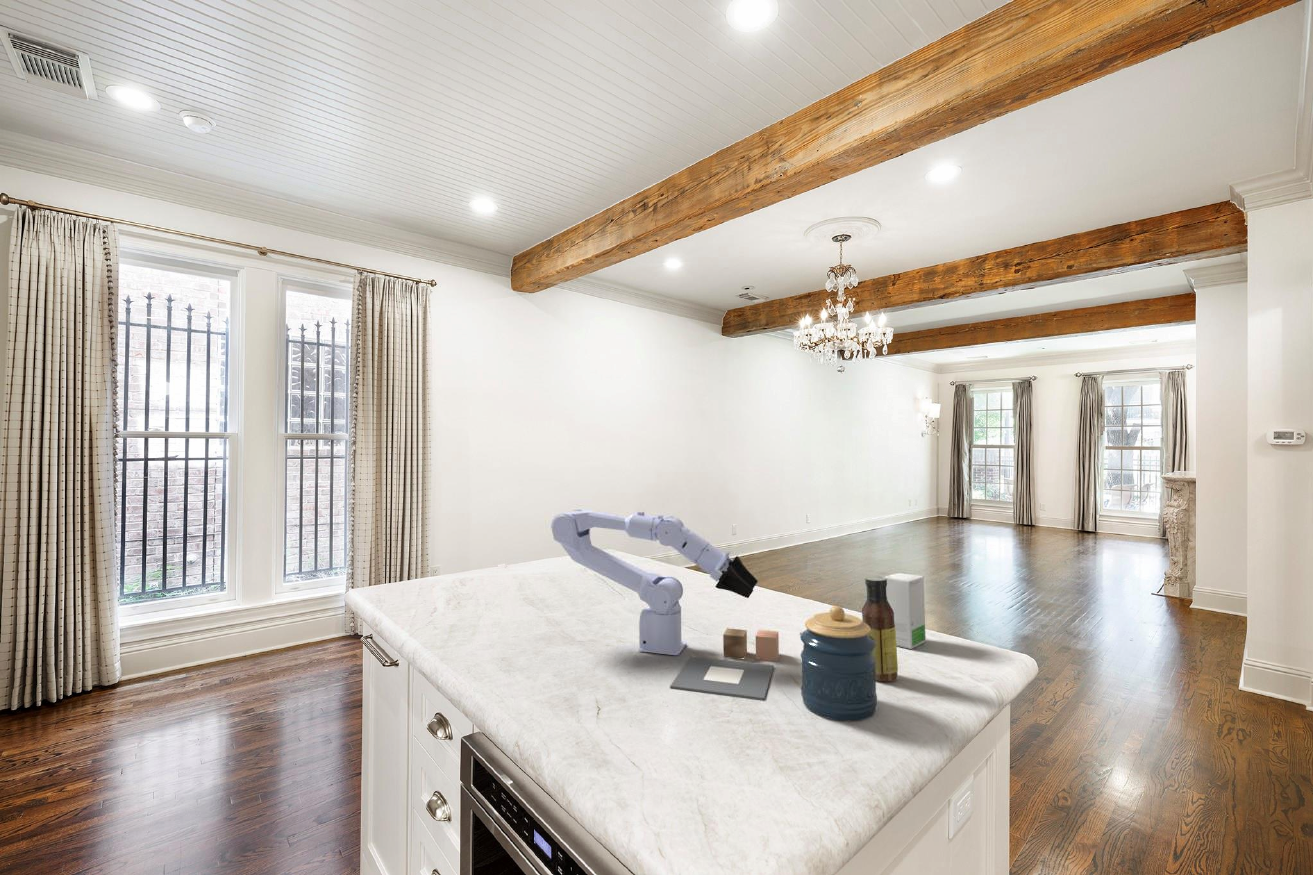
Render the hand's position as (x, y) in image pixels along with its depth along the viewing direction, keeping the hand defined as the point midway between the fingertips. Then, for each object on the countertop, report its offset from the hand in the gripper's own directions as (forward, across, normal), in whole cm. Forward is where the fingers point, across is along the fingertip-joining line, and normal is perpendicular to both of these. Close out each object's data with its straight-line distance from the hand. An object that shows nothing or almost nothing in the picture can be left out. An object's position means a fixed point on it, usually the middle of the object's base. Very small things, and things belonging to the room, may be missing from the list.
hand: (753, 589), depth 123 cm
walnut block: (+5, 0, +15) cm, 16 cm away
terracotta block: (+10, +1, +11) cm, 15 cm away
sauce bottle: (+30, -4, -1) cm, 30 cm away
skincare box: (+36, +19, -5) cm, 41 cm away
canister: (+23, -19, +3) cm, 30 cm away
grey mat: (+4, -13, +15) cm, 20 cm away
